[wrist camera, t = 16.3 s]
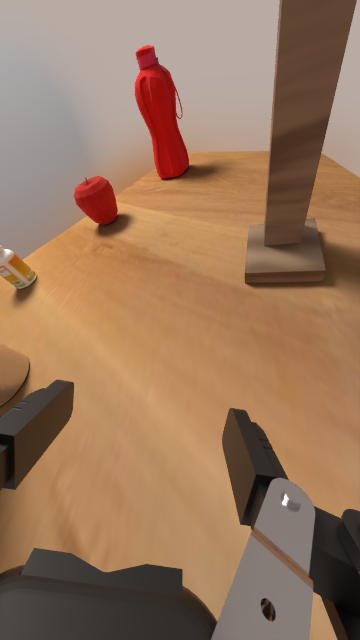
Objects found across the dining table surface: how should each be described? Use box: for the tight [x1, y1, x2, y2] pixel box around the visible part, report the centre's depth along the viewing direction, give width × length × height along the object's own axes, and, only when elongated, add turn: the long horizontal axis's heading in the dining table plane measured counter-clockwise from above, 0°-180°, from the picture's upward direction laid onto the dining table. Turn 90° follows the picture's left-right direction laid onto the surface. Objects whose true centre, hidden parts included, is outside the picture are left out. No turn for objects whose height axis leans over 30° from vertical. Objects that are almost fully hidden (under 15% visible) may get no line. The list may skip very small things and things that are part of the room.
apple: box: [74, 176, 118, 225], centre depth 53 cm, size 10×10×11 cm
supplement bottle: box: [0, 245, 37, 289], centre depth 46 cm, size 5×5×10 cm
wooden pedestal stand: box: [245, 0, 356, 283], centre depth 20 cm, size 12×10×32 cm
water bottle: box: [135, 45, 189, 179], centre depth 55 cm, size 9×11×25 cm
